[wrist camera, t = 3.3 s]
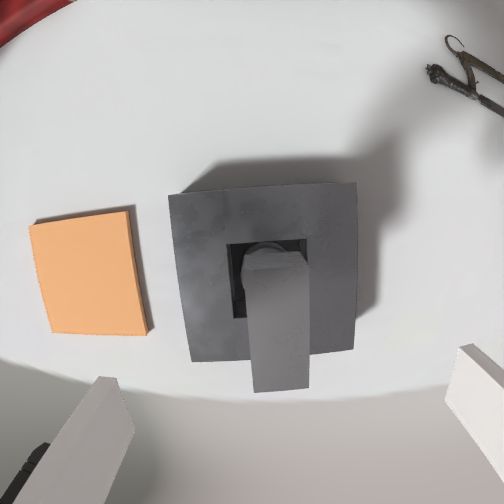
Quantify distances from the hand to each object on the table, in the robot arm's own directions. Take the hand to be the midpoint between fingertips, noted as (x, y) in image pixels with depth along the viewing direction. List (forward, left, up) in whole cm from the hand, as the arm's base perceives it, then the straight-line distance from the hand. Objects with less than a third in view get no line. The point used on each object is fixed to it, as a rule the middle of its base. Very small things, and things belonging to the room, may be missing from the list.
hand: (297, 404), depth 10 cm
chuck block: (0, 0, -18) cm, 18 cm away
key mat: (0, -18, -18) cm, 26 cm away
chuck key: (0, 0, -18) cm, 18 cm away
